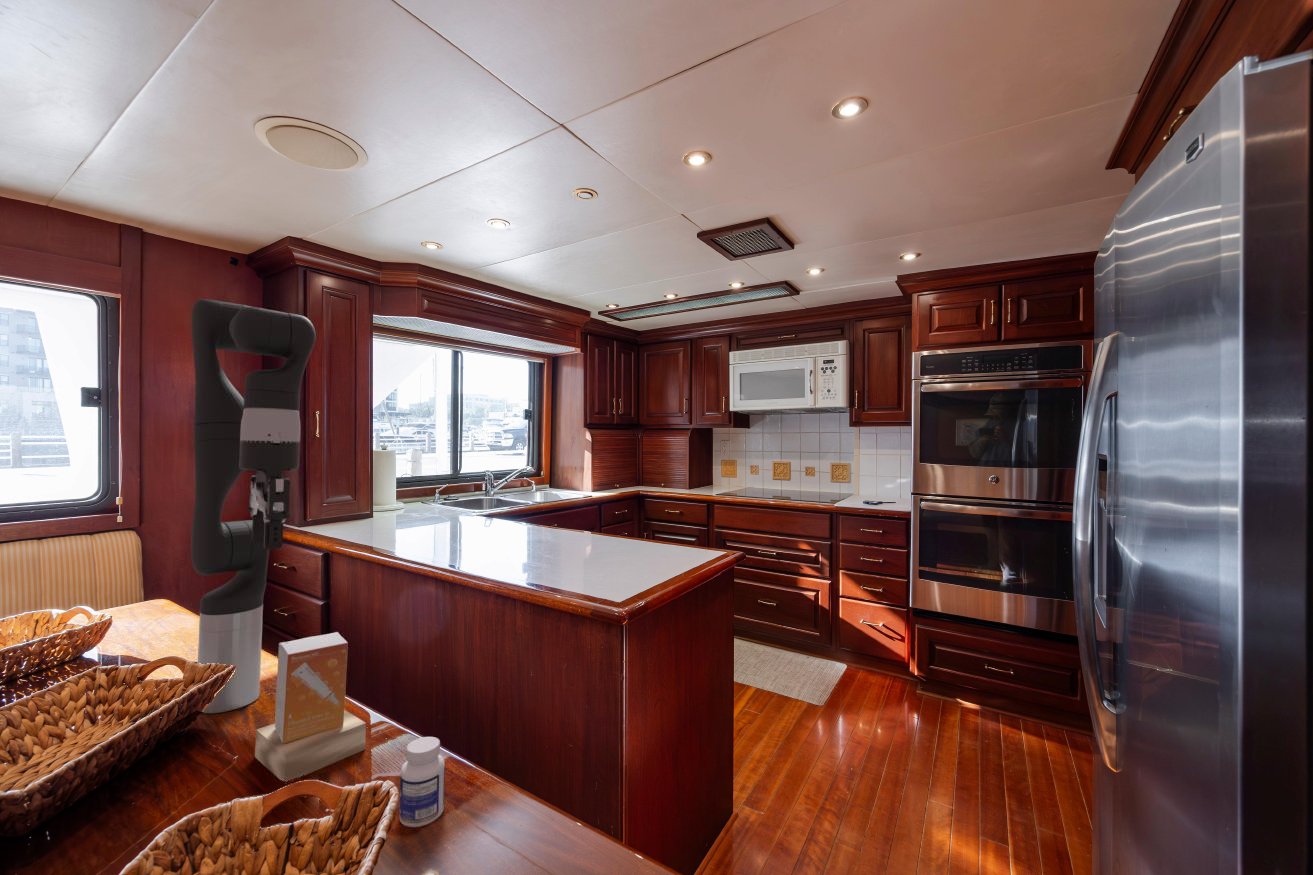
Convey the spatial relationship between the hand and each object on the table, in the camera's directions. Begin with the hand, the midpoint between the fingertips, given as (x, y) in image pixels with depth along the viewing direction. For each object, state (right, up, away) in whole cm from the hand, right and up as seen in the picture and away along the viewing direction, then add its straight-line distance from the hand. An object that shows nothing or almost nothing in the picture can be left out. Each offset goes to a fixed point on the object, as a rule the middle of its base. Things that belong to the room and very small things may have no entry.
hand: (266, 544), depth 82 cm
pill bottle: (+30, -32, -13) cm, 46 cm away
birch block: (+6, -33, 0) cm, 33 cm away
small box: (+6, -28, 0) cm, 29 cm away
